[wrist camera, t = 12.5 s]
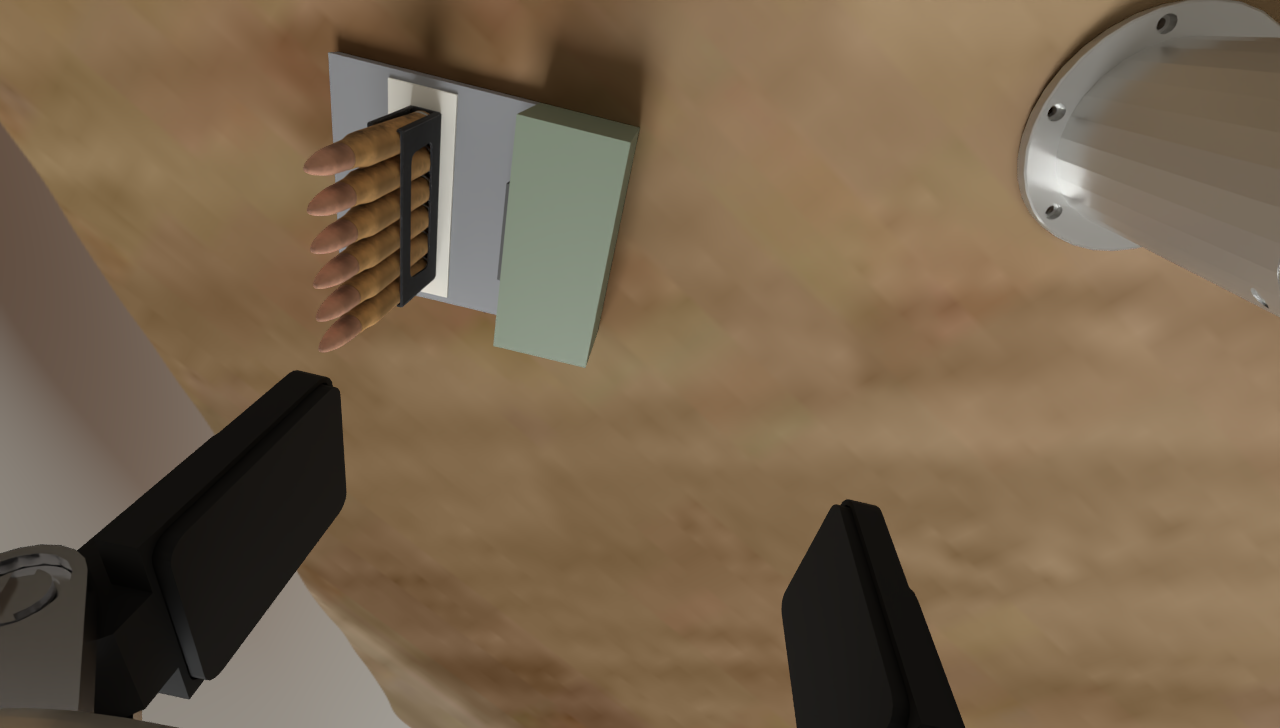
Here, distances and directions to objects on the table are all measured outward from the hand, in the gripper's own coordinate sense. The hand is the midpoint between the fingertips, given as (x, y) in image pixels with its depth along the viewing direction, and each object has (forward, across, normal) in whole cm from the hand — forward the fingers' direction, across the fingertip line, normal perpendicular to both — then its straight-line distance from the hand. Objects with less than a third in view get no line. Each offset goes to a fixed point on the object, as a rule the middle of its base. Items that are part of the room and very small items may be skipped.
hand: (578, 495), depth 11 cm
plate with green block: (+28, +11, +5) cm, 31 cm away
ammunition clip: (+27, +14, +5) cm, 31 cm away
